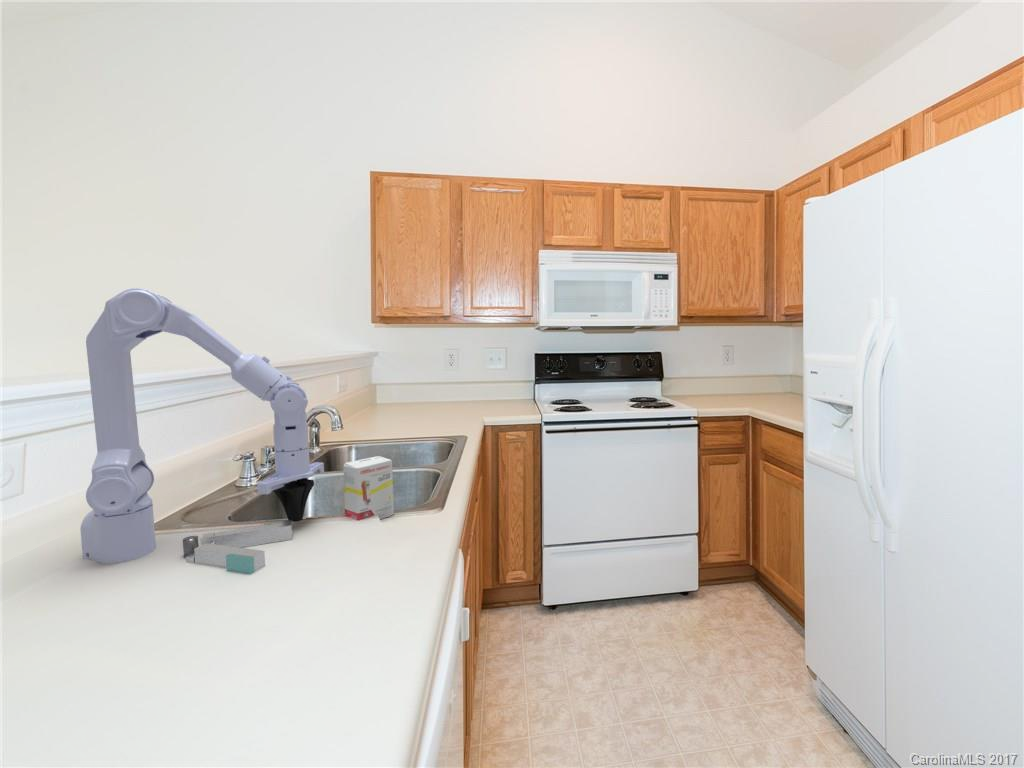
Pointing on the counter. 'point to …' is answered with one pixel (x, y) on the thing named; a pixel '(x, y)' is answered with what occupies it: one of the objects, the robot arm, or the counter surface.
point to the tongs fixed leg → (223, 556)
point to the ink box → (368, 488)
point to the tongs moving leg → (251, 535)
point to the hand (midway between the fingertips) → (295, 520)
